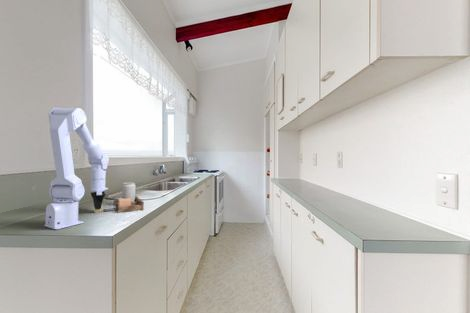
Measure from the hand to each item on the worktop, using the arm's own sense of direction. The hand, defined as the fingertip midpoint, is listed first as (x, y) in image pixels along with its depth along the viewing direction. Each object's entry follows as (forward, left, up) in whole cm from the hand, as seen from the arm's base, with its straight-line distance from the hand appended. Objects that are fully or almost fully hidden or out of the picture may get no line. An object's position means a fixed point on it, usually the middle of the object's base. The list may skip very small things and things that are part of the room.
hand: (97, 208), depth 105 cm
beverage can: (+17, 0, -2) cm, 17 cm away
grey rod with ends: (+5, -3, -2) cm, 7 cm away
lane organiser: (+14, -3, -2) cm, 14 cm away
